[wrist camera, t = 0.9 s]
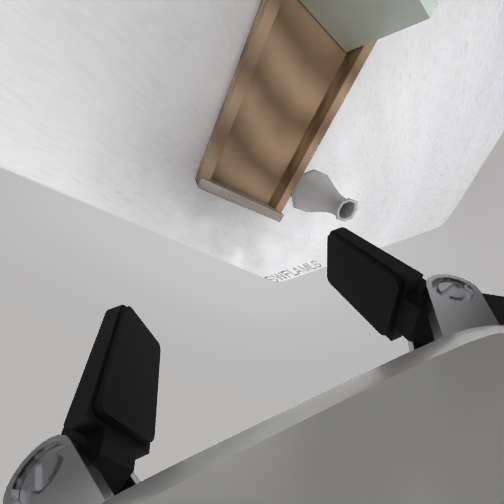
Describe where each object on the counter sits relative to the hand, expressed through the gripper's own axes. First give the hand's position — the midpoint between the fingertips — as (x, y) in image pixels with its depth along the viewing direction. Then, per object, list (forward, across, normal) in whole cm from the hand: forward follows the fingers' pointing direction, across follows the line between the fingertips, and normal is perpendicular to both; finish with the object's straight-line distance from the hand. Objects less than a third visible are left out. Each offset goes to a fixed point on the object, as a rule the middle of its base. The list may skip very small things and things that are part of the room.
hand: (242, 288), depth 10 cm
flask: (+25, -18, +7) cm, 32 cm away
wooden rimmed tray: (+25, -14, -7) cm, 29 cm away
